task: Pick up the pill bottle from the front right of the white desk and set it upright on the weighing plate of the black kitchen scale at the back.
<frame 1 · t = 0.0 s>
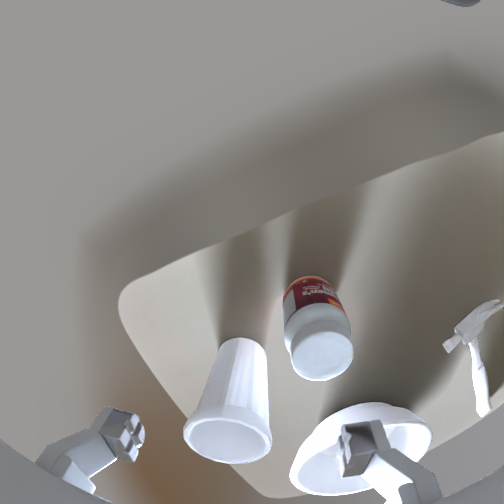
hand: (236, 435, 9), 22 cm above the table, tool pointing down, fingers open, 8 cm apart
hammer: (480, 366, 33), on the table
bowl: (355, 428, 37), on the table
cup: (242, 355, 34), on the table
pill bottle: (308, 298, 31), on the table
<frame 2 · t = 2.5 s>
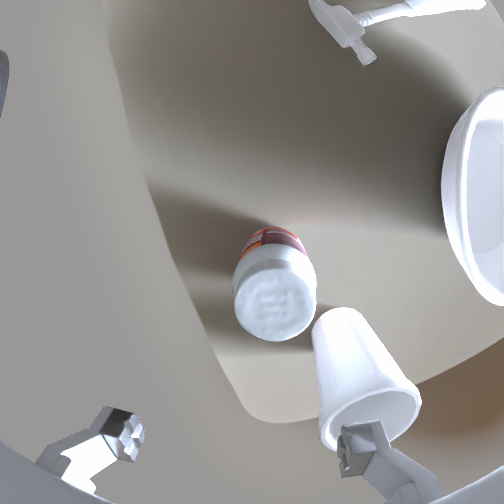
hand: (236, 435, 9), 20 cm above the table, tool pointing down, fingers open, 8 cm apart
hammer: (412, 2, 18), on the table
bowl: (480, 190, 24), on the table
cup: (337, 329, 30), on the table
pill bottle: (273, 256, 28), on the table
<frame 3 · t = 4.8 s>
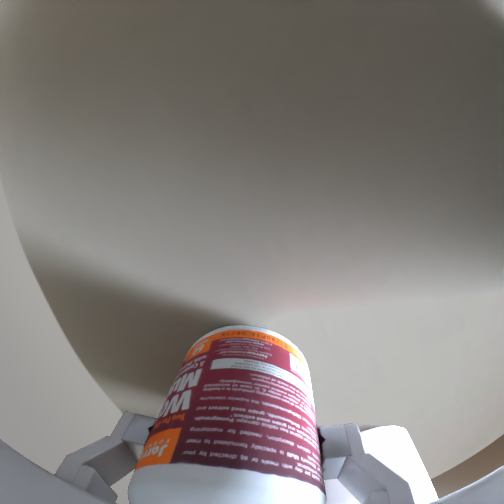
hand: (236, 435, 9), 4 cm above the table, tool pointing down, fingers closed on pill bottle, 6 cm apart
cup: (365, 446, 15), on the table
pill bottle: (246, 370, 13), on the table, touching gripper
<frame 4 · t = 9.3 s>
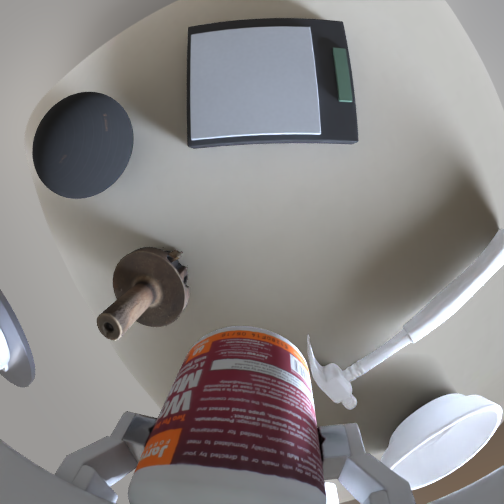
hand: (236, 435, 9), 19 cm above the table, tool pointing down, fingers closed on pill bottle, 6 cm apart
hammer: (423, 301, 27), on the table
bowl: (428, 422, 32), on the table
scale: (269, 79, 22), on the table
cup: (319, 486, 38), on the table
pill bottle: (247, 371, 13), point 15 cm above the table, touching gripper
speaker: (110, 148, 25), on the table
industrial component: (162, 274, 28), on the table
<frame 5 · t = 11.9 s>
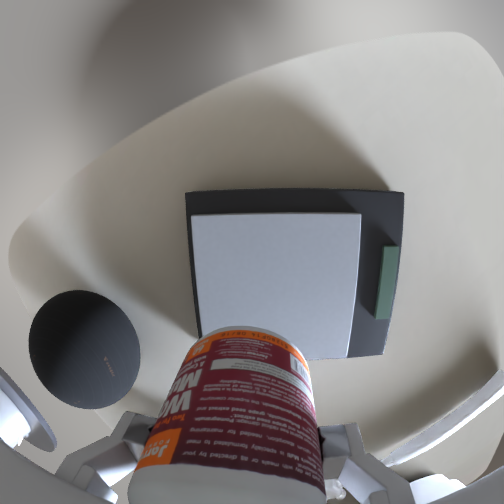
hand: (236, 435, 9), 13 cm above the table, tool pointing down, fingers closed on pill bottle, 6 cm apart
hammer: (412, 433, 26), on the table
bowl: (407, 490, 31), on the table
scale: (296, 275, 21), on the table
pill bottle: (247, 370, 13), point 9 cm above the table, touching gripper
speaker: (111, 322, 24), on the table
when the fingers open (7 cm above the table, at t = 14.0 s): pill bottle stays where it is, resting on scale.
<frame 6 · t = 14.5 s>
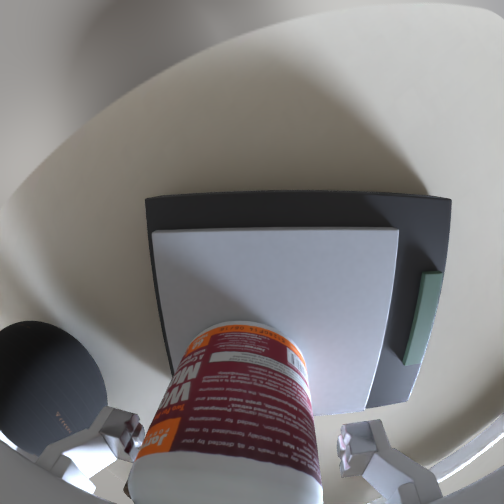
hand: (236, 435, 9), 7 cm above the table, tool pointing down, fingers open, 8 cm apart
hammer: (425, 465, 20), on the table
scale: (303, 310, 15), on the table
pill bottle: (245, 365, 13), point 2 cm above the table, touching scale
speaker: (77, 354, 18), on the table
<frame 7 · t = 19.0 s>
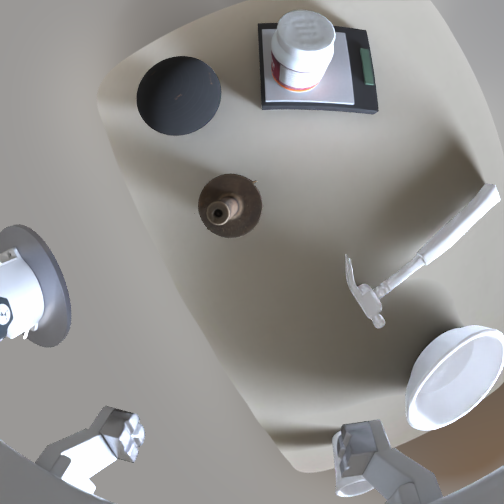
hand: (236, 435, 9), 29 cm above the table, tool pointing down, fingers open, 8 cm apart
hammer: (429, 234, 35), on the table
bowl: (442, 360, 40), on the table
scale: (316, 67, 30), on the table
cup: (346, 434, 46), on the table
pill bottle: (296, 72, 29), point 2 cm above the table, touching scale
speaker: (190, 105, 33), on the table
industrial component: (230, 205, 36), on the table
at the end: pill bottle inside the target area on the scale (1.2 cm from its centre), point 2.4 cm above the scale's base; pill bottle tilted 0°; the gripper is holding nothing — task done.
